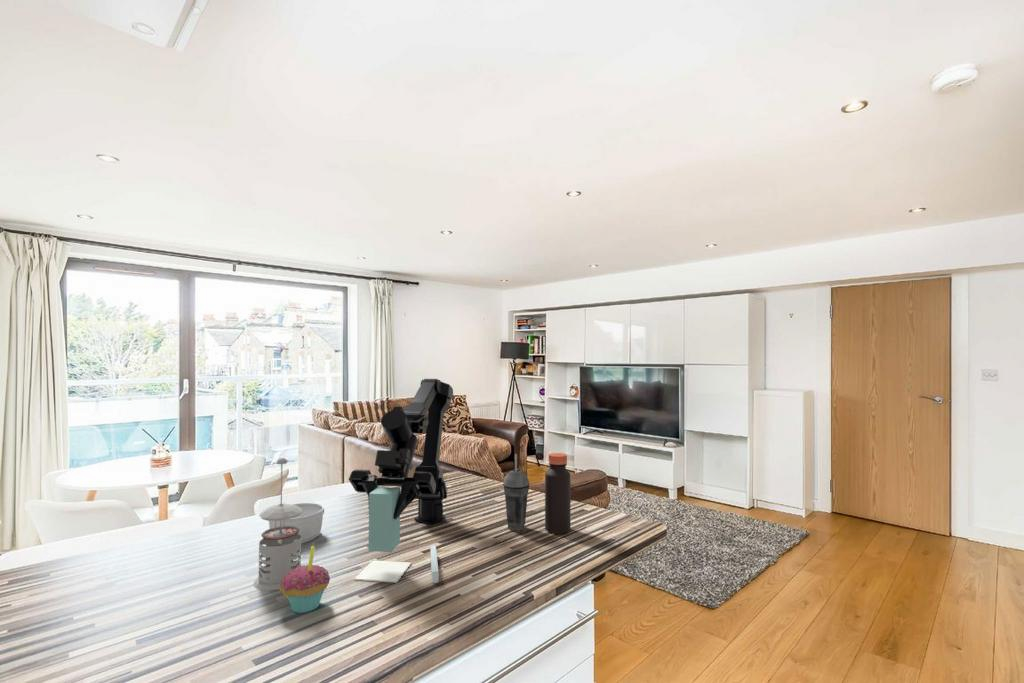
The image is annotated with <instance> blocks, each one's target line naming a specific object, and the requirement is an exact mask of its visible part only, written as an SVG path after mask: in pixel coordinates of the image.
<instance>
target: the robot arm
mask: <svg viewBox="0 0 1024 683" xmlns="http://www.w3.org/2000/svg"><path fill="white" fill-rule="evenodd" d="M453 397H454V389H453V387H452V386H451V385H450V384H449V383H446V382H443V381H442V380H440V379H438V378H423V379H421V381H420V386H419V388H418V390H417V391H416V393H415V395H414V396H413V398H412V400H411V402H410V403H409V404H407V405H404V406H401V405H400V406H397V405H396V406H393V409H391V410H389V411H387V412H386V413H384V414H383V416H381V418H380V423H381V427H382V429H383V431H384V433H385V436H386V438H387V440H388V441H389V442H390V443H391V446H390V448H389V450H383V449H378V450H376V455H375V461H374V466H375V467H378V470H377V471H378V472H379V474H381V475H380V476H378V475H376V474H372V473H371V471H370V469H354V470H352V471H351V472H350V473H349V474H350V475H349V476H348V481H349V483H350V484H351V486H352V489H354V491H355V492H357V493H363V494H365V493H366V495H367V498H368V502H369V493H371V492H372V491H374V490H375V489H377V488H378V487H386V486H387V487H400V496H399V499H398V502H397V505H396V508H395V511H394V516H393V518H394V519H397V518H398V517H399V515H400V516H401V514H402V513H403V512H404V511H405V509H406V508H407V507H408V506H409V505H410V504H411V503H412V502H413V501H414V500H418V502H417V503H418V505H417V506H418V511H417V512H418V514H417V516H416V517H414V518H413V520H414V521H416V522H421V523H424V524H427V525H431V524H435V523H438V522H439V521H442V520H445V519H446V518H447V517H446V515H444V504H443V500H445V499H446V500H447V499H448V487H447V484H446V482H445V478H444V472H443V470H442V467H441V466H440V453H441V444H442V437H443V436H442V434H443V425H444V416H445V414H446V412H447V411H448V409H450V407H451V402H452V400H453ZM424 433H425V437H424V445H423V446H424V447H423V454H422V461H421V462H420V464H419V465H417V466H415V468H414V473H413V475H412V477H409V474H410V471H411V470H413V459H414V456H415V452H416V450H418V441H419V440H418V438H417V436H416V435H417V434H418V435H422V434H424Z"/></svg>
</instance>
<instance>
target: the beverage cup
mask: <svg viewBox="0 0 1024 683" xmlns="http://www.w3.org/2000/svg"><path fill="white" fill-rule="evenodd" d="M530 486H531V485H530V480H529V477H528V476H527V474H526V473H525V472H524V471H522V470H521V469H518V454H517V453H515V454H514V469H512V470H510V471H508V472H507V473H506V475H505V476H504V479H503V484H502V487H503V492H504V500H505V512H506V521H507V522H506V523H507V529H508V530H509V529H510V530H509V531H511V530H516V531H515V532H519V531H518V530H522V531H524V530H525V525H526V520H527V518H526V516H527V508H528V506H527V505H528V494H529V492H530ZM523 529H524V530H523Z"/></svg>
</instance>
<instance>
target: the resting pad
mask: <svg viewBox="0 0 1024 683" xmlns="http://www.w3.org/2000/svg"><path fill="white" fill-rule="evenodd" d="M410 564H411V565H412V562H406V561H405V562H403V561H389V560H372V561H370V563H369V564H368V565H367V566H366V567H365V568H364V569H363V570H362V571H361V572H359V573H358V575H357V576H356V577H354V581H363V582H364V581H365V582H379V583H394V584H397V583H398V582H399V580H400V579H401V578H402V577H403V575H404V574H405V573H406V572H407V570H408V569H409V568H408V567H411V565H410ZM404 572H405V573H404ZM401 576H402V577H401Z"/></svg>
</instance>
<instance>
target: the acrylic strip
mask: <svg viewBox="0 0 1024 683" xmlns="http://www.w3.org/2000/svg"><path fill="white" fill-rule="evenodd" d="M429 548H430V549H429V550H430V552H429V553H430V556H431V557H430V568H431V570H432V571H431V570H430V571H431V582H432V584H434V583H435V584H436V583H437V584H438V583H439V565H438V555H437V546H436V545H430V546H429Z"/></svg>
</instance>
